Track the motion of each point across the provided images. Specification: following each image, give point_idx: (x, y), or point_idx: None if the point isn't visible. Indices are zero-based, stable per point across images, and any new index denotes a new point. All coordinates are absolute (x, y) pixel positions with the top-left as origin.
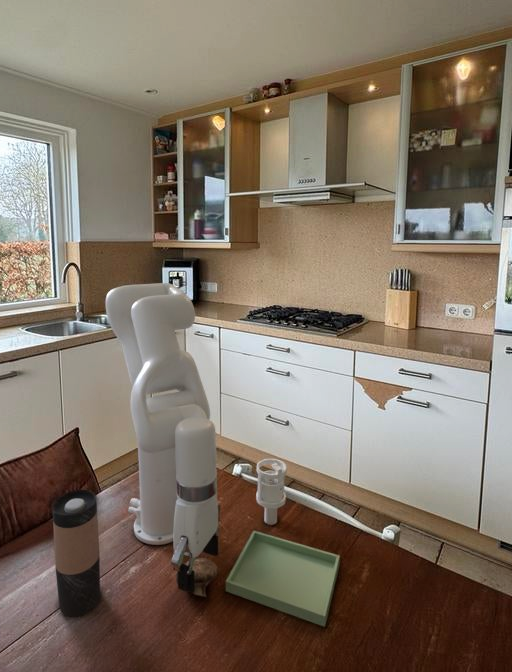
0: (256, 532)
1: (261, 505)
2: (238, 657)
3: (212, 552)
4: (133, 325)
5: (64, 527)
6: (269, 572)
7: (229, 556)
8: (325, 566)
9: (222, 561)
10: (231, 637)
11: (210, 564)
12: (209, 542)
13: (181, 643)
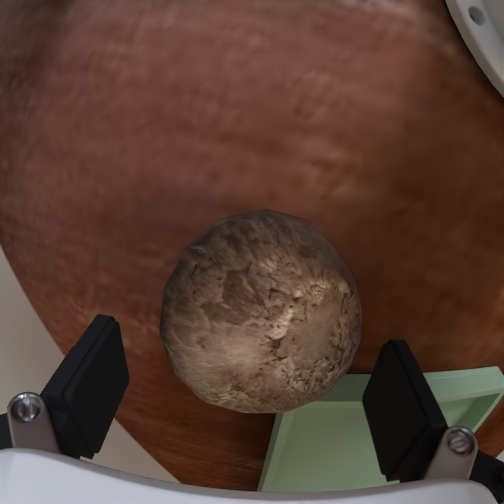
0: (500, 395)
1: None
2: (121, 415)
3: (371, 393)
4: None
5: None
6: (369, 441)
7: (440, 334)
8: None
9: (418, 322)
10: (151, 403)
11: (289, 408)
12: (390, 425)
13: (68, 303)
